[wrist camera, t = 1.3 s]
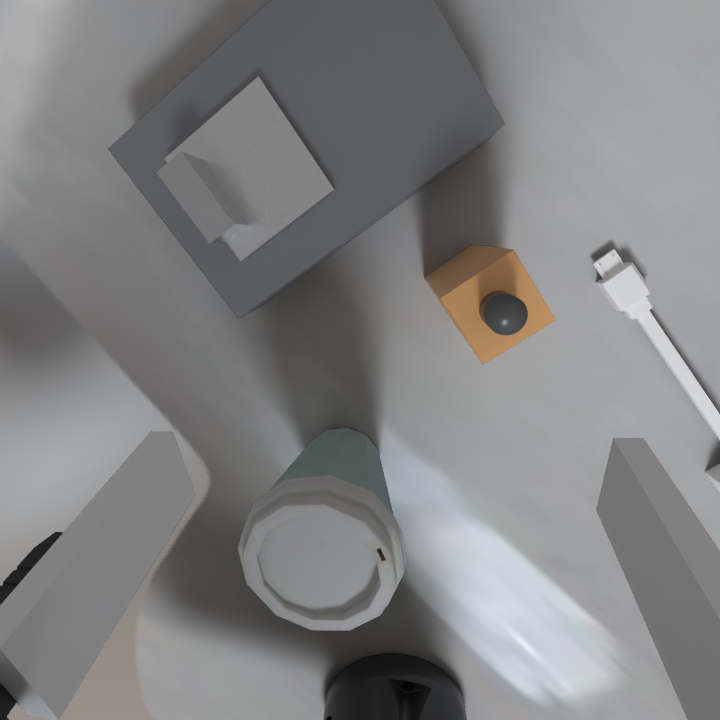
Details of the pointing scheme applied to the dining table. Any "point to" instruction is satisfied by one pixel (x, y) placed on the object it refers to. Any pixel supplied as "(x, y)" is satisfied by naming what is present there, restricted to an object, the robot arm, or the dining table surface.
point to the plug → (490, 299)
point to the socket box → (323, 124)
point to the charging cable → (652, 332)
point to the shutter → (245, 173)
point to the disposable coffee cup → (326, 537)
